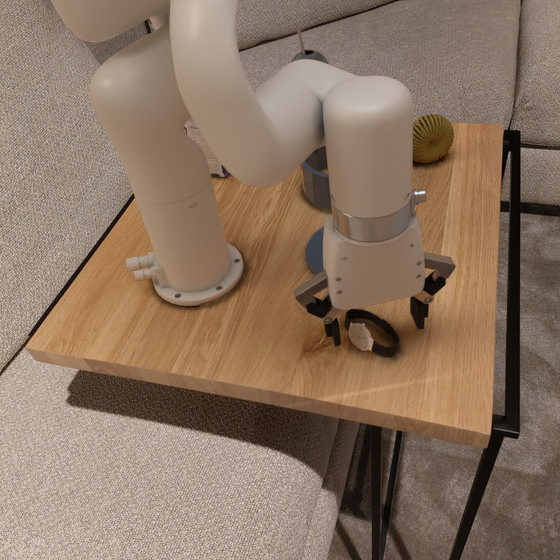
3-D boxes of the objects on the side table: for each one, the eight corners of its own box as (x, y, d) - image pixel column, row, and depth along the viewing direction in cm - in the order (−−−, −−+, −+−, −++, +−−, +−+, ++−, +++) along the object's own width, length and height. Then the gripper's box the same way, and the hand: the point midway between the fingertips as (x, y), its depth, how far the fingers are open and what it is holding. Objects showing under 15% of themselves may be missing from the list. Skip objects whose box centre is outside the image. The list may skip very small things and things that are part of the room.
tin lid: (316, 300, 75) (312, 259, 70) (298, 232, 85) (293, 192, 80) (425, 280, 75) (428, 238, 70) (393, 214, 86) (394, 174, 81)
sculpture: (407, 172, 93) (409, 127, 87) (399, 159, 96) (400, 115, 90) (455, 162, 93) (460, 116, 88) (445, 149, 96) (449, 104, 91)
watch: (334, 331, 71) (333, 311, 68) (363, 311, 73) (363, 291, 70) (380, 369, 66) (380, 349, 64) (409, 347, 68) (410, 326, 65)
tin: (311, 220, 87) (308, 184, 83) (297, 171, 97) (293, 137, 92) (400, 204, 87) (401, 167, 83) (376, 157, 97) (376, 122, 93)
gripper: (446, 171, 59) (438, 292, 70) (277, 205, 59) (297, 320, 70) (474, 215, 53) (461, 338, 65) (288, 252, 53) (308, 369, 65)
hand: (376, 329), depth 68 cm, fingers open, 9 cm apart
